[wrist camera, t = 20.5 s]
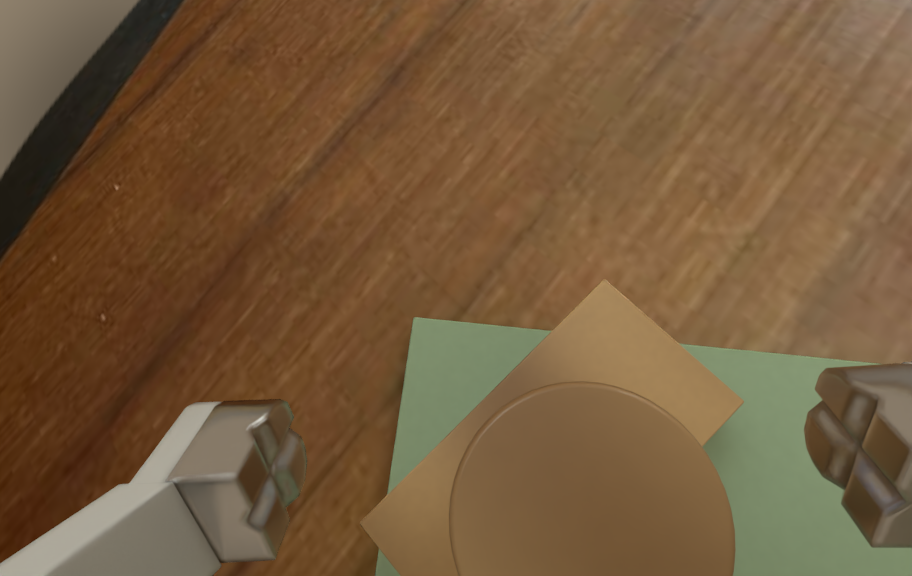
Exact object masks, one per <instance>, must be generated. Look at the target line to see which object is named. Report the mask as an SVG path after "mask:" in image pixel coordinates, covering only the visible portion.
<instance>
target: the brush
mask: <svg viewBox="0 0 912 576" xmlns="http://www.w3.org/2000/svg"><path fill="white" fill-rule="evenodd" d="M743 403H744V400H743V399H741V398H740V397H739V396H738V395H737V394H736V393H735V392H733V391H732V390H731V389H730V388H729V387H728V386H727V385H726V384H724V383H723V382H722V381H721V380H720V379H719V378H718V377H716V376H715V375H714V374H713V373H712V372H711V371H710V370H708V369H707V368H706V367H705V366H704V365H703V364H702V363H700V362H699V361H698V360H697V359H696V358H695V357H694V356H692V355H691V354H690V353H689V352H688V351H687V350H686V349H684V348H683V347H682V346H681V345H680V344H679V343H678V342H676V341H675V340H674V339H673V338H672V337H671V336H670V335H668V334H667V333H666V332H665V331H664V330H663V329H662V328H660V327H659V326H658V325H657V324H656V323H655V322H654V321H652V320H651V319H650V318H649V317H648V316H647V315H646V314H644V313H643V312H642V311H641V310H640V309H639V308H638V307H636V306H635V305H634V304H633V303H632V302H631V301H630V300H628V299H627V298H626V297H625V296H624V295H623V294H622V293H620V292H619V291H618V290H617V289H616V288H615V287H614V286H612V285H611V284H610V283H609V282H608V281H607V280H605V279H604V280H602V281H601V282H600V283H599V284H598V285H597V286H596V287H595V288H594V289H593V290H592V291H591V292H590V293H589V294H588V295H587V296H586V297H585V298H584V299H583V300H582V301H581V302H580V303H579V304H578V305H577V306H576V307H575V308H574V309H573V310H572V311H571V312H570V313H569V314H568V315H567V316H566V317H565V318H564V319H563V320H562V321H561V322H560V323H559V324H558V325H557V326H556V327H555V328H554V329H553V330H552V331H551V332H550V333H549V334H548V335H547V336H546V337H545V338H544V339H543V340H542V341H541V342H540V343H539V344H538V345H537V346H536V347H535V348H534V349H533V350H532V351H531V352H530V353H529V354H528V355H527V356H526V357H525V358H524V359H523V360H522V361H521V362H520V363H519V364H518V365H517V366H516V367H515V368H514V369H513V370H512V371H511V372H510V373H509V374H508V375H507V376H506V377H505V378H504V379H503V380H502V381H501V382H500V383H499V384H498V385H497V386H496V387H495V388H494V389H493V390H492V391H491V392H490V393H489V394H488V395H487V396H486V397H485V398H484V399H483V400H482V401H481V402H480V403H479V404H478V405H477V406H476V407H475V408H474V409H473V410H472V411H471V412H470V413H469V414H468V415H467V416H466V417H465V418H464V419H463V420H462V421H461V422H460V423H459V424H458V425H457V426H456V427H455V428H454V429H453V430H452V431H451V432H450V433H449V434H448V435H447V436H446V437H445V438H444V439H443V440H442V441H441V442H440V443H439V444H438V445H437V446H436V447H435V448H434V449H433V450H432V451H431V452H430V453H429V454H428V455H427V456H426V457H425V458H424V459H423V460H422V461H421V462H420V463H419V464H418V465H417V466H416V467H415V468H414V469H413V470H412V471H411V472H410V473H409V474H408V475H407V476H406V477H405V478H404V479H403V480H402V481H401V482H400V483H399V484H398V485H397V486H396V487H395V488H394V489H393V490H392V491H391V492H390V493H389V494H388V495H387V496H386V497H385V498H384V499H383V500H382V501H381V502H380V503H379V504H378V505H377V506H376V507H375V508H374V509H373V510H372V511H371V512H370V513H369V514H368V515H367V516H366V517H365V518H364V519H363V520H362V521H361V522H360V525H361V526H362V527H363V529H364V530H365V531H366V532H367V534H368V535H369V536H370V538H371V539H372V540H373V541H374V543H375V544H376V545H377V546H378V548H379V549H380V550H381V552H382V553H383V554H384V555H385V557H386V558H387V559H388V560H389V562H390V563H391V564H392V566H393V567H394V568H395V569H396V571H397V572H398V573H399V574H400V576H733V572H734V564H735V552H736V547H735V528H734V522H733V517H732V511H731V507H730V503H729V500H728V497H727V493H726V490H725V488H724V485H723V483H722V481H721V478H720V476H719V474H718V472H717V470H716V468H715V466H714V464H713V463H712V461H711V459H710V458H709V456H708V454H707V453H706V451H705V450H704V449H703V446H704V445H705V444H706V443H707V441H708V440H709V439H710V438H711V437H712V436H713V435H714V434H715V433H716V432H717V431H718V430H719V429H720V428H721V427H722V425H723V424H724V423H725V422H726V421H727V420H728V419H729V418H730V417H731V416H732V415H733V414H734V413H735V412H736V411H737V409H738V408H739V407H740V406H741V405H742V404H743Z"/></svg>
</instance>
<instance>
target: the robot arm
mask: <svg viewBox="0 0 912 576" xmlns="http://www.w3.org/2000/svg"><path fill="white" fill-rule="evenodd" d="M815 391H816V392H817V394H818V395H819V396H820V398H821V399H822V401H821V402H820V403H818V404H817V405H816V406H815V407H814V408H812V409H811V410H810V411H809V412H808V413H807V418H806V422H805V426H804V435H805V442H806V448H807V451H808V453H809V455H810V458H811V460H812V462H813V464H814V465H815V467H816V468H817V470H818V471H819V473H820V474H821V476H822V477H823V478H825V479H827V480H828V481H830V482H832V483H833V484H835V485H836V486H838V487H840V488H841V489H843V493H842V499H841V505H842V506H843V507H844V509H845V510H846V512H847V513H848V515H849V516H850V517H851V519H852V520H853V522H854V523H855V525H856V526H857V527H858V529H859V530H860V532H861V533H862V535H863V536H864V537H865V539H866V540H867V542H868V543H869V545H870V546H871V547H872V548H912V362H904V363H901V364H899V363H895V364H880V365H864V366H848V367H833V368H826V369H825V370H824V371H823V372H822V373H821V374H820V375H819V377H818V380H817V383H816V386H815ZM293 418H294V416H293V414H292V411H291V409H290V407H289V405H288V402H286V401H284V400H281V399H270V400H239V401H223V402H196V403H194V404H192V405H190V406H188V407H186V408H185V409H184V411H183V412H182V413H181V415H180V416H179V417H178V419H177V420H176V421H175V423H174V424H173V425H172V427H171V428H170V429H169V431H168V432H167V434H166V435H165V436H164V438H163V439H162V440H161V442H160V443H159V444H158V446H157V447H156V448H155V450H154V451H153V452H152V454H151V455H150V456H149V458H148V459H147V460H146V462H145V463H144V464H143V466H142V467H141V468H140V470H139V471H138V473H137V474H136V475H135V477H134V478H133V479H132V481H131V482H130V483H129V484H119V485H118V486H116V487H115V488H113V489H112V490H110V491H109V492H107V493H106V494H104V495H103V496H101V497H100V498H98V499H97V500H95V501H94V502H92V503H91V504H89V505H88V506H86V507H85V508H83V509H82V510H80V511H78V512H77V513H75V514H74V515H72V516H71V517H69V518H68V519H66V520H65V521H63V522H62V523H60V524H59V525H57V526H56V527H54V528H53V529H51V530H50V531H48V532H47V533H45V534H44V535H42V536H41V537H39V538H38V539H36V540H35V541H33V542H32V543H30V544H29V545H27V546H26V547H24V548H23V549H21V550H20V551H18V552H17V553H15V554H14V555H12V556H11V557H9V558H8V559H6V560H5V561H3V562H2V563H0V576H213V575H214V574H215V573H216V571H217V570H218V569H219V568H220V567H221V563H227V562H247V561H266V560H275V558H276V556H277V553H278V551H279V548H280V545H281V543H282V540H283V537H284V535H285V532H286V530H287V527H288V524H289V522H290V518H289V516H288V513H287V510H286V507H287V506H288V505H289V504H290V503H291V502H293V501H294V500H295V499H296V498H297V497H298V496H299V495H300V493H301V490H302V487H303V484H304V481H305V476H306V467H307V456H306V449H305V445H304V443H303V440H302V437H301V436H300V435H298V434H297V433H296V432H294V431H293V430H292V429H290V428H289V427H290V425H291V422H292V420H293Z"/></svg>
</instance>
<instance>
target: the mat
mask: <svg viewBox="0 0 912 576" xmlns="http://www.w3.org/2000/svg"><path fill="white" fill-rule="evenodd" d="M550 332H551V331H547V330H537V329H527V328H517V327H507V326H497V325H487V324H477V323H467V322H457V321H447V320H437V319H427V318H417V317H415V318H414V319H413V324H412V331H411V338H410V344H409V351H408V358H407V364H406V371H405V378H404V384H403V391H402V398H401V405H400V411H399V418H398V425H397V431H396V438H395V445H394V451H393V458H392V465H391V472H390V478H389V485H388V492H387V495H388V494H389V493H390V492H391V491H392V490H393V489H394V488H395V487H396V486H397V485H398V484H399V483H400V482H401V481H402V480H403V479H404V478H405V477H406V476H407V475H408V474H409V473H410V472H411V471H412V470H413V469H414V468H415V467H416V466H417V465H418V464H419V463H420V462H421V461H422V460H423V459H424V458H425V457H426V456H427V455H428V454H429V453H430V452H431V451H432V450H433V449H434V448H435V447H436V446H437V445H438V444H439V443H440V442H441V441H442V440H443V439H444V438H445V437H446V436H447V435H448V434H449V433H450V432H451V431H452V430H453V429H454V428H455V427H456V426H457V425H458V424H459V423H460V422H461V421H462V420H463V419H464V418H465V417H466V416H467V415H468V414H469V413H470V412H471V411H472V410H473V409H474V408H475V407H476V406H477V405H478V404H479V403H480V402H481V401H482V400H483V399H484V398H485V397H486V396H487V395H488V394H489V393H490V392H491V391H492V390H493V389H494V388H495V387H496V386H497V385H498V384H499V383H500V382H501V381H502V380H503V379H504V378H505V377H506V376H507V375H508V374H509V373H510V372H511V371H512V370H513V369H514V368H515V367H516V366H517V365H518V364H519V363H520V362H521V361H522V360H523V359H524V358H525V357H526V356H527V355H528V354H529V353H530V352H531V351H532V350H533V349H534V348H535V347H536V346H537V345H538V344H539V343H540V342H541V341H542V340H543V339H544V338H545V337H546V336H547V335H548V334H549V333H550ZM680 345H681V346H682V347H683V348H684V349H686V350H687V351H688V352H689V353H690V354H691V355H692V356H694V357H695V358H696V359H697V360H698V361H699V362H700V363H702V364H703V365H704V366H705V367H706V368H707V369H708V370H710V371H711V372H712V373H713V374H714V375H715V376H716V377H718V378H719V379H720V380H721V381H722V382H723V383H724V384H726V385H727V386H728V387H729V388H730V389H731V390H732V391H733V392H735V393H736V394H737V395H738V396H739V397H740V398H741V399H743V400H744V403H743V404H742V405H741V406H740V407H739V408H738V409H737V411H736V412H735V413H734V414H733V415H732V416H731V417H730V418H729V419H728V420H727V421H726V422H725V423H724V424H723V425H722V427H721V428H720V429H719V430H718V431H717V432H716V433H715V434H714V435H713V436H712V437H711V438H710V439H709V440H708V441H707V443H706V444H705V445H704V446H703V449H704V450H705V451H706V453H707V454H708V456H709V458H710V459H711V461H712V463H713V464H714V466H715V468H716V470H717V472H718V474H719V476H720V478H721V481H722V483H723V485H724V488H725V490H726V493H727V497H728V500H729V503H730V507H731V511H732V517H733V522H734V528H735V547H736V552H735V564H734V572H733V576H912V548H872V547H871V546H870V545H869V543H868V542H867V540H866V539H865V537H864V536H863V535H862V533H861V532H860V530H859V529H858V527H857V526H856V525H855V523H854V522H853V520H852V519H851V517H850V516H849V515H848V513H847V512H846V510H845V509H844V507H843V506H842V505H841V499H842V493H843V489H841V488H840V487H838V486H836V485H835V484H833V483H832V482H830V481H828V480H827V479H825V478H823V477H822V476H821V474H820V473H819V471H818V470H817V468H816V467H815V465H814V464H813V462H812V460H811V458H810V455H809V453H808V451H807V448H806V442H805V435H804V426H805V422H806V418H807V413H808V412H809V411H810V410H811V409H812V408H814V407H815V406H816V405H817V404H818V403H820V402H821V401H822V399H821V398H820V396H819V395H818V394H817V392H816V391H815V386H816V383H817V380H818V377H819V375H820V374H821V373H822V372H823V371H824V370H825V369H826V368H833V367H848V366H864V365H880V364H877V363H867V362H857V361H847V360H837V359H827V358H817V357H807V356H797V355H787V354H777V353H767V352H757V351H747V350H737V349H727V348H717V347H707V346H697V345H687V344H680ZM375 576H400V574H399V573H398V572H397V571H396V569H395V568H394V567H393V566H392V564H391V563H390V562H389V560H388V559H387V558H386V557H385V555H384V554H383V553H382V552H381V550H380V549H379V552H378V559H377V565H376V572H375Z"/></svg>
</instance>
